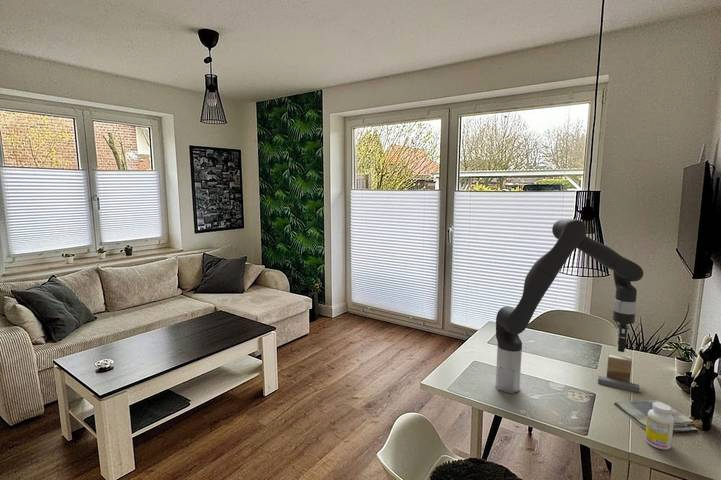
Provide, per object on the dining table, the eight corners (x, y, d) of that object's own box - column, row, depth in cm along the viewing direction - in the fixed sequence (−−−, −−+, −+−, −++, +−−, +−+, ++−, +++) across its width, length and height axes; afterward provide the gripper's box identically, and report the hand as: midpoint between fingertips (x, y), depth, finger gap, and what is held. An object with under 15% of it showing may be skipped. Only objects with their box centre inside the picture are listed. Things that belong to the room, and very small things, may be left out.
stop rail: (639, 392, 153) (639, 387, 152) (597, 383, 160) (598, 378, 160) (638, 389, 155) (639, 384, 155) (598, 380, 163) (598, 375, 162)
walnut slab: (629, 386, 158) (631, 360, 156) (606, 381, 162) (608, 356, 161) (628, 381, 161) (631, 356, 160) (606, 376, 166) (608, 352, 164)
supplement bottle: (655, 435, 126) (660, 399, 124) (676, 448, 120) (681, 410, 118) (639, 438, 124) (643, 401, 123) (659, 452, 118) (664, 413, 116)
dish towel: (611, 405, 145) (612, 397, 144) (658, 404, 145) (659, 396, 145) (649, 436, 126) (650, 427, 126) (702, 435, 127) (703, 426, 126)
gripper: (636, 316, 150) (632, 356, 152) (634, 307, 162) (631, 344, 164) (613, 313, 154) (610, 352, 156) (613, 304, 166) (610, 340, 168)
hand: (620, 348), depth 160 cm, fingers open, 8 cm apart
